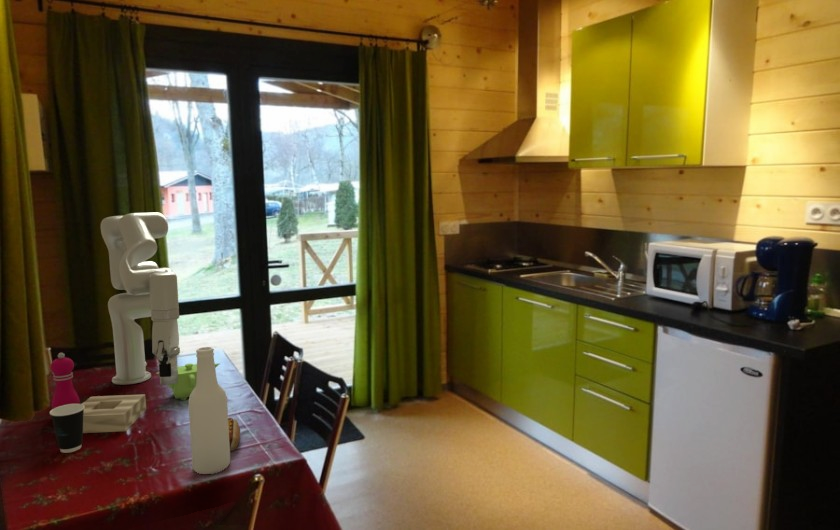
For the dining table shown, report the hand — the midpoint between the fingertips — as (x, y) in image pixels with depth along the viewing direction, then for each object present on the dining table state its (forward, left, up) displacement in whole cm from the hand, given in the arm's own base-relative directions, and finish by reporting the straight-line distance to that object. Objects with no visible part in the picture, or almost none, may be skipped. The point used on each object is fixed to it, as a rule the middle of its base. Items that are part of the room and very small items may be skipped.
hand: (168, 372), depth 172 cm
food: (+20, +22, -14) cm, 33 cm away
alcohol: (+34, +20, -14) cm, 42 cm away
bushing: (0, 0, -3) cm, 3 cm away
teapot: (-19, 0, -14) cm, 23 cm away
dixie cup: (+19, -20, -14) cm, 31 cm away
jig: (+1, -18, -14) cm, 22 cm away
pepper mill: (-4, -32, -14) cm, 35 cm away
